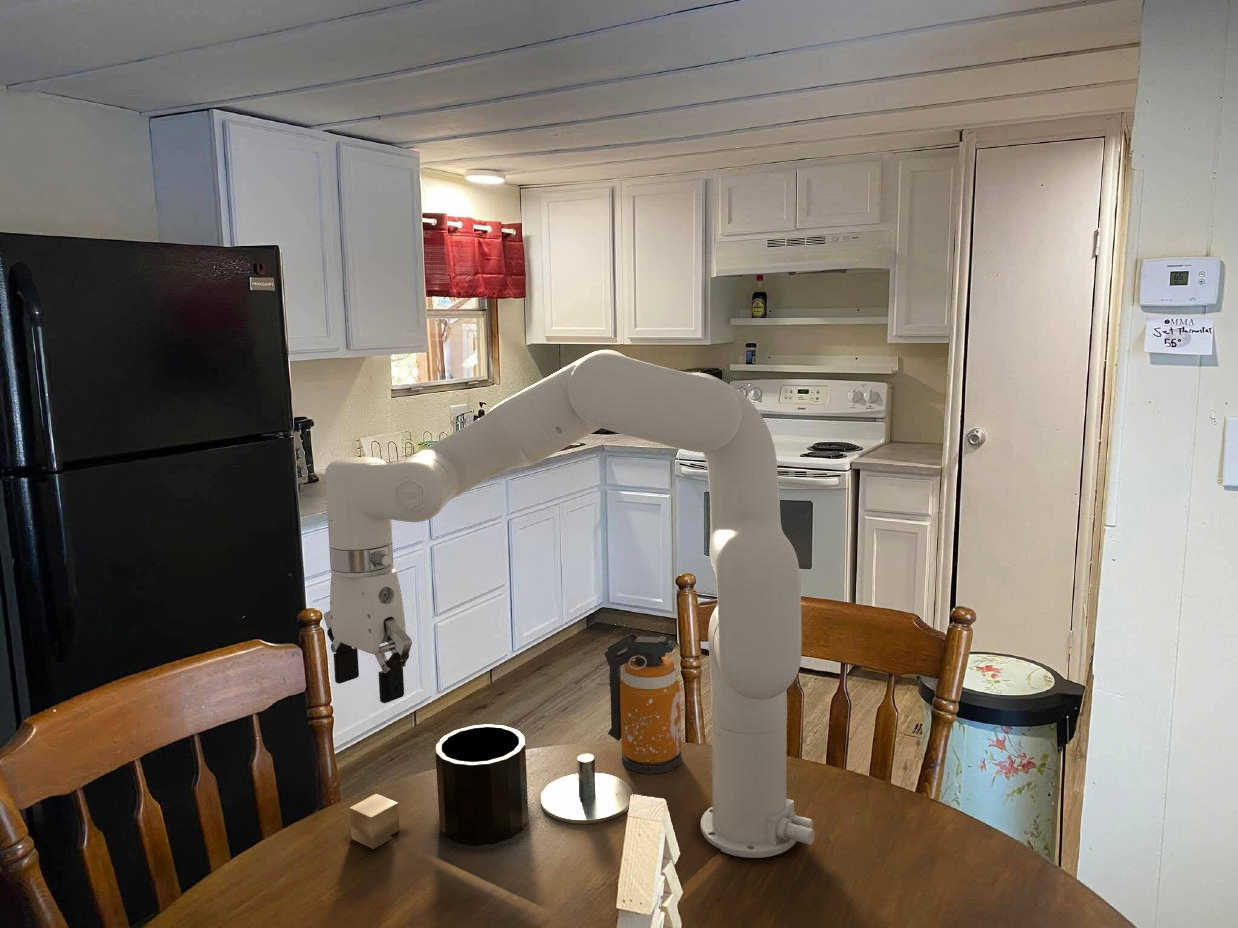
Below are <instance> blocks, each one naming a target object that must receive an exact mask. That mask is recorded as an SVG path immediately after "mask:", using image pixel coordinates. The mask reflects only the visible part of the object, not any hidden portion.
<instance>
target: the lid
mask: <svg viewBox="0 0 1238 928" xmlns="http://www.w3.org/2000/svg"><path fill="white" fill-rule="evenodd" d="M595 758H596V757H595V755H593V754H591V753H583V754H579V755H578V756H577V757H576V762H577V773H575V774H570V775H567V776H563V777H559V778H558V779H556V780H554V781H552V782H550V783H549V784H548V785H547V786H546V787H545V788H544V790H543V791H542V792H541V795H540V804H541V808H542V809H543V811H544V812H545V813H546V814H547V815H548V816H550V817H551V818H552V819H555V820H558V821H561V822H565V823H568V824H574V825H591V824H598V823H604V822H608V821H610V820H614V819H617V818H618V817H620V816H622V815H623V814H625V813H626V812H627V811H628V810H629V809H628V807H629V798H630V795H632V794H633V795H634V791H633V788H632V787H631V785H630V784H629V783H628V782H627V781H625V780H624V779H621V778H619V777H618V776H615V775H611V774H607V773H599V772H596V759H595Z"/></svg>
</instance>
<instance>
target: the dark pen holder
mask: <svg viewBox="0 0 1238 928" xmlns="http://www.w3.org/2000/svg"><path fill="white" fill-rule="evenodd" d="M434 751H435V769H436V785H437V786H436V787H437V801H438V817H439V819H438V821H439V831H440V832H441V834H442V835H443V836H444V837H445V839H447V840H448V841H451V842H453V843H455V844H458V845H464V846H472V847H481V846H491V845H496V844H498V843H501V842H505V841H509V840H511V839H513V838H514V837H515V836H517V835H518V834H520V833H521V832H523V831H524V830H525V828H526V826H527V824H528V823H529V821H530V819H529V796H528V778H527V777H528V776H527V774H528V773H527V752H526V751H527V750H526V737H525V735H524V734H523V733H521V731H519V730H518V729H515V728H513V727H509V726H506V725H499V724H479V725H478V724H477V725H469V726H467V727H463V728H460V729H456V730H453V731H451V732H449V733H447V734H446V735H443V737H441V738H440V739H439V741H438V742H437V743H436V744H435V750H434Z"/></svg>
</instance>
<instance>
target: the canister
mask: <svg viewBox="0 0 1238 928" xmlns="http://www.w3.org/2000/svg"><path fill="white" fill-rule="evenodd" d="M675 646H676V641H673V640H669V638H668V637H667V636H638V635H637V634H634V633H633V632H632V633H630V634H628V635H627V636H625V637H623V638H621V639H619V640H618V641H616V642H614V643H613V644H611V645H609V646H608V647H607V648H606V650H607V651H605V652H603V655H604V658H605V659H606V662H607V665H608V667H609V673H608V676H609V677H608V681H609V682H608V685H609V690H610V691H609V692H610V693H609V694H610V720H611V721H610V723H611V724H610V725H611V726H610V728H609V730H608V733H607V734H608V736H610V737H612V738H613V739H614V740H616V741H617V742H620V744H621V746H620V748H621V763H622V764H623V766H625V768H627V769H629V770H630V771H633V772H637V773H642V774H663V773H666V772H670V771H672V770H674V769H676V768H677V767H678V766H680V765H681V762H682V726H681V725H682V722H681V721H682V720H681V718H682V717H681V682H680V680H679V679H678V678H677V667H676V665H675V663H674V661H673V660H672V659H670V658H669V657H667V656H666V655H667V654H670V653H673V651H674V649H675ZM624 650H625V651H624ZM622 651H623V652H622ZM621 666H623V667H622V676H621ZM621 677H622V678H621Z"/></svg>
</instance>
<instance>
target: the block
mask: <svg viewBox="0 0 1238 928" xmlns="http://www.w3.org/2000/svg"><path fill="white" fill-rule="evenodd" d="M399 814H400V813H399V803H398V802H397V801H394V800H392V799H390V798H388V797H386V796H383V795H381V794H378V793H375V794H373V795H371V796H369V797H367V798H365V799H363V800H362V801H359V802H358V803H356V804H353V805H352V806H350V807H349V821H350V822H349V823H350V834H351V835H350V836H351V840H353V841H356V842H357V843H359V844H361V845H363V846H366V847H368V848H369V849H372V850H375V849H377V848H378V847H380V846H381V845H384V844H385V843H387V842H388V841H390V840H392V839H394V836H392V835H395V834H396V833H397V832H399V831H400V830H401V829H400V815H399Z"/></svg>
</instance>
